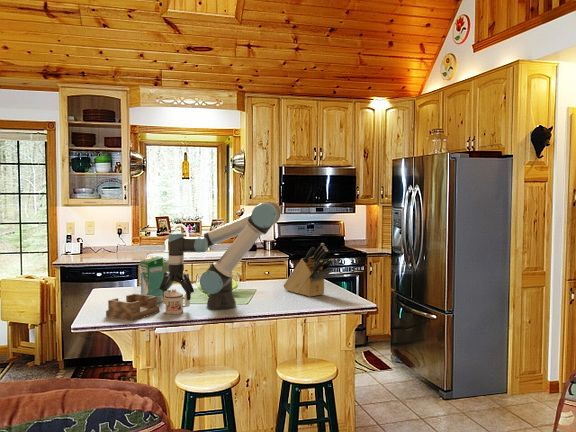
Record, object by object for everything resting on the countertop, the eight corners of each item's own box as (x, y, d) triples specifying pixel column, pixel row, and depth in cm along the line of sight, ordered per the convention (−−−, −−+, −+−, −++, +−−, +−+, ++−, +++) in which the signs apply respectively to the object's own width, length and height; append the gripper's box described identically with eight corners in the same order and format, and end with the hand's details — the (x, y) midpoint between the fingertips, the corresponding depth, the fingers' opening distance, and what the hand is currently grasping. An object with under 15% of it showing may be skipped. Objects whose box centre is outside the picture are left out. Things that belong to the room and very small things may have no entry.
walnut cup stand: (159, 311, 255) (159, 296, 255) (132, 320, 238) (131, 303, 238) (134, 308, 263) (133, 293, 262) (106, 316, 246) (105, 300, 246)
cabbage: (149, 295, 296) (149, 261, 295) (147, 289, 314) (146, 257, 313) (176, 293, 301) (176, 260, 300) (173, 287, 319) (172, 256, 318)
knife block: (319, 300, 279) (319, 244, 277) (282, 290, 307) (282, 240, 306) (335, 297, 285) (334, 243, 284) (297, 288, 314) (297, 238, 312)
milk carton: (140, 301, 279) (139, 256, 277) (155, 299, 285) (154, 255, 284) (149, 304, 272) (148, 258, 271) (163, 301, 279) (163, 256, 277)
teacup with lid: (164, 314, 249) (164, 291, 248) (165, 310, 258) (164, 288, 257) (189, 313, 251) (189, 290, 251) (189, 309, 260) (188, 287, 260)
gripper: (200, 264, 251) (201, 306, 252) (162, 260, 262) (162, 301, 263) (191, 266, 244) (191, 309, 245) (152, 262, 255) (152, 303, 257)
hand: (176, 305), depth 254 cm, fingers open, 13 cm apart
